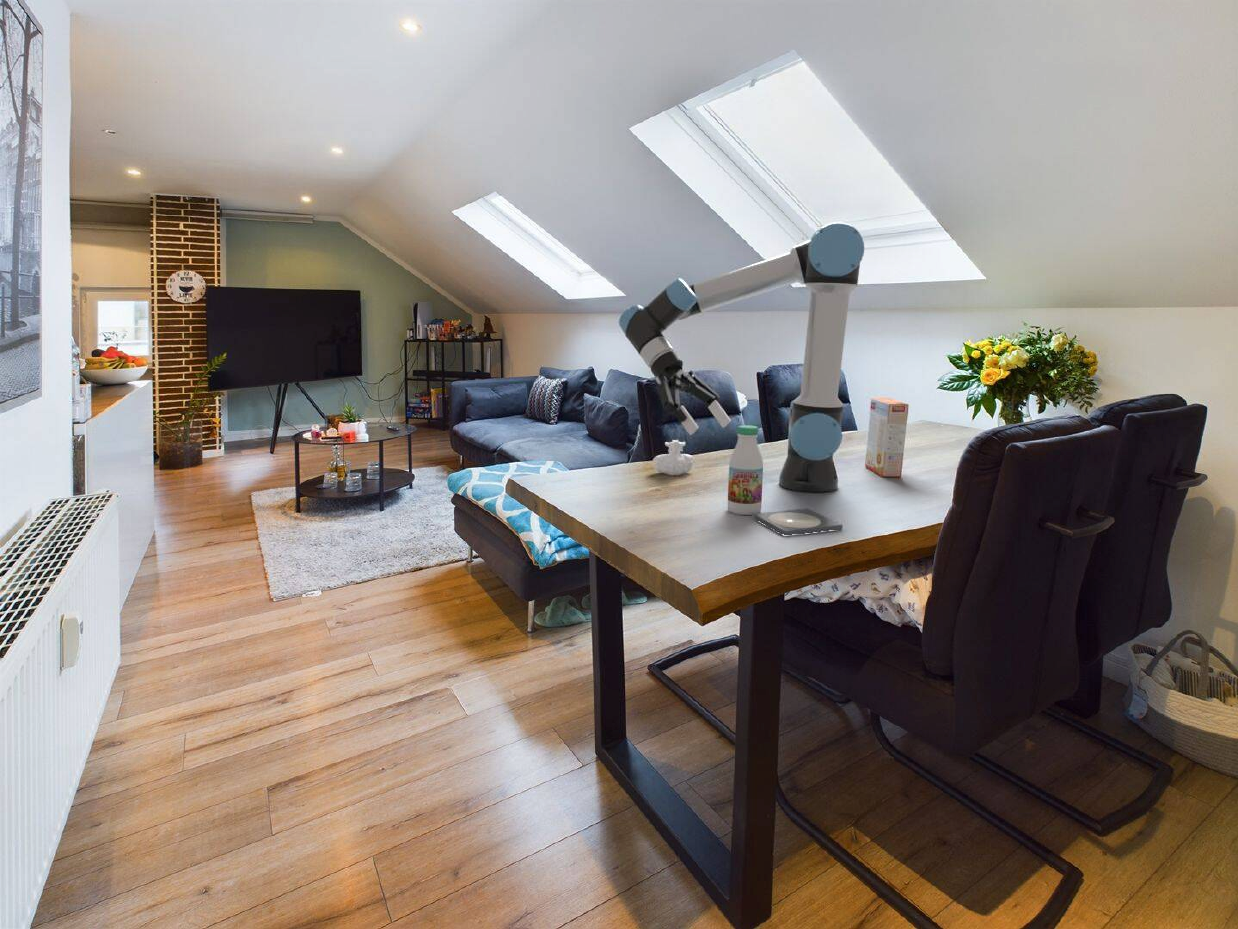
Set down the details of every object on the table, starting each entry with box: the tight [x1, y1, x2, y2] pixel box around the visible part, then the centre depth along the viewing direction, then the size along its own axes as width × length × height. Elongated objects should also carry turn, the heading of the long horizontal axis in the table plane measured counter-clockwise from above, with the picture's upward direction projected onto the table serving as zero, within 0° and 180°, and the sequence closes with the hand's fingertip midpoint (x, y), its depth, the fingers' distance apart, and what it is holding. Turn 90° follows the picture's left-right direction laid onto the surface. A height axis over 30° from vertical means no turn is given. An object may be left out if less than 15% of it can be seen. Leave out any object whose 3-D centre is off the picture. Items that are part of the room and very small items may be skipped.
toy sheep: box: [652, 439, 696, 476], centre depth 192 cm, size 12×8×11 cm
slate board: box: [752, 507, 844, 535], centre depth 148 cm, size 14×13×1 cm
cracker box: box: [864, 397, 910, 478], centre depth 195 cm, size 14×6×21 cm, turn 179°
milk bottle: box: [727, 424, 764, 516], centre depth 155 cm, size 8×8×20 cm
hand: (711, 427), depth 159 cm, fingers open, 13 cm apart
